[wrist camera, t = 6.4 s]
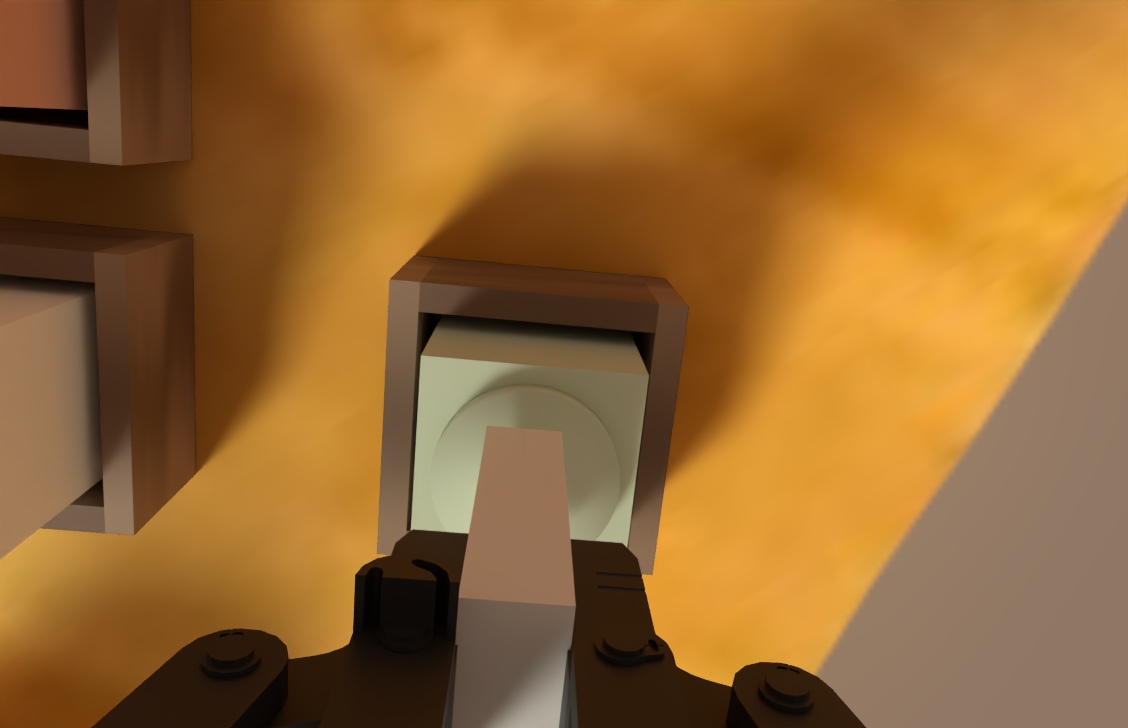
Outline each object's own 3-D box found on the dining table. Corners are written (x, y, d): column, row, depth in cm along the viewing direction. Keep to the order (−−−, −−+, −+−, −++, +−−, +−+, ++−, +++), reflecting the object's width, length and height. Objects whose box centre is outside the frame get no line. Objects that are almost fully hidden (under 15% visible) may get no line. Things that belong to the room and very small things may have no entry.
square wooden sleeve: (-73, 210, 23) (-194, 226, 20) (193, 234, 24) (125, 255, 20) (-51, 454, 25) (-158, 512, 21) (195, 474, 26) (133, 535, 22)
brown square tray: (414, 255, 24) (389, 279, 20) (665, 278, 24) (689, 306, 21) (401, 490, 26) (377, 553, 22) (636, 509, 26) (652, 575, 22)
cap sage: (450, 301, 24) (416, 363, 18) (623, 316, 24) (652, 383, 18) (439, 464, 25) (404, 576, 19) (604, 477, 25) (625, 593, 19)
